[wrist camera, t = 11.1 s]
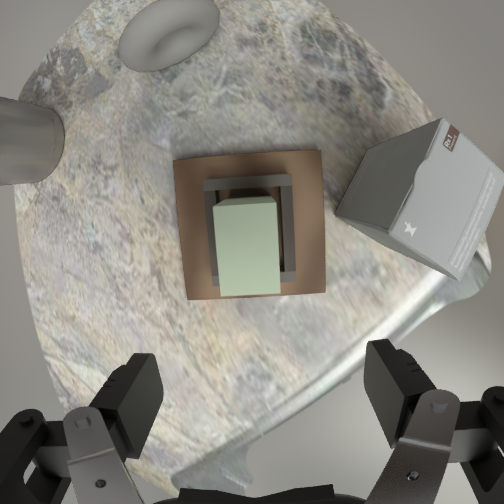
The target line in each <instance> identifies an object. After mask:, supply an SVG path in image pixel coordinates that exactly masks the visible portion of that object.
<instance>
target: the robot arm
mask: <svg viewBox="0 0 504 504" xmlns="http://www.w3.org/2000/svg"><path fill="white" fill-rule="evenodd" d="M63 146H64V129H63V125H62V122H61V120H60V118H59V116H58V115H57V114H56V113H55V112H54V111H52V110H50V109H48V108H44V107H40V106H36V105H32V104H29V103H25V102H21V101H17V100H13V99H8V98H3V97H0V186H1V185H12V184H24V183H35V182H39V181H42V180H43V179H45V178H47V177H48V176H49V175H50V174H51V173H52V172H53V170H54V169H55V168H56V166H57V164H58V162H59V160H60V157H61V154H62V151H63ZM364 387H365V390H366V393H367V395H368V397H369V399H370V402H371V404H372V406H373V408H374V411H375V413H376V415H377V418H378V420H379V422H380V424H381V427H382V429H383V431H384V434H385V436H386V438H387V441H388V443H389V445H390V448H391V449H393V448H395V449H394V451H393V453H392V455H391V457H390V459H389V461H388V462H387V464H386V466H385V468H384V470H383V472H382V474H381V476H380V477H379V479H378V481H377V482H376V484H375V486H374V488H373V490H372V491H371V493H370V495H369V496H368V498H367V500H365V499H362V498H359V497H355V496H351V495H345V494H334V489H333V485H332V484H329V485H322V486H314V487H304V488H294V489H291V490H287V491H283V492H280V493H276V494H271V495H268V496H263V497H258V498H251V497H246V496H241V495H236V494H231V493H226V492H222V491H218V490H200V489H187V488H180V493H179V497H178V498H172V499H166V500H163V501H159V502H156V503H153V504H433V503H434V501H435V498H436V496H437V493H438V490H439V487H440V485H441V482H442V479H443V476H444V473H445V469H446V467H447V463H457V462H460V464H461V466H462V468H463V470H464V473H465V474H466V477H467V479H468V481H469V483H470V485H471V487H472V489H473V492H474V494H475V496H476V498H477V500H478V503H479V504H504V457H503V456H502V454H501V452H500V450H499V449H498V446H499V447H500V448H501V449H502V451H503V453H504V387H502V386H494V387H491V388H488V389H487V390H486V391H485V392H484V393H483V396H482V398H481V401H469V402H460V400H459V398H458V397H457V396H456V395H454V394H453V393H452V392H449V391H446V390H441V389H436V387H435V385H434V384H433V383H432V382H431V380H430V379H429V377H428V376H427V375H426V374H425V373H424V371H423V370H422V368H421V367H420V366H419V364H417V362H416V361H415V359H414V358H413V357H412V355H411V354H409V353H407V352H405V351H404V350H402V349H398V350H396V349H395V348H394V346H393V345H392V344H391V342H390V341H389V340H388V339H380V340H374V341H368V343H367V347H366V358H365V368H364ZM163 394H164V392H163V385H162V381H161V377H160V373H159V369H158V365H157V361H156V358H155V356H154V354H152V353H134V354H133V355H132V357H131V358H130V359H129V361H128V362H127V364H126V365H121V366H120V367H119V368H117V369H116V370H114V371H113V372H112V373H111V375H110V376H109V378H108V380H107V381H106V382H105V383H104V385H103V387H102V388H101V389H100V390H99V392H98V393H97V395H96V396H95V397H94V399H93V400H92V402H91V403H90V405H89V406H88V407H79V408H76V409H74V410H72V411H70V412H69V413H68V414H67V415H66V416H65V417H64V419H63V421H46V420H45V418H44V416H43V414H42V413H41V412H40V411H38V410H36V409H26V410H23V411H21V412H19V413H17V414H16V415H15V416H14V417H13V418H12V419H11V420H10V421H9V423H8V424H7V425H6V426H5V428H4V429H3V430H2V432H1V433H0V504H61V502H62V500H63V498H64V495H65V493H66V491H67V489H68V487H69V485H70V483H71V480H72V483H73V487H74V490H75V494H76V497H77V500H78V503H79V504H145V502H144V500H143V498H142V496H141V495H140V493H139V491H138V489H137V487H136V485H135V484H134V482H133V480H132V478H131V476H130V474H129V472H128V470H127V468H126V466H125V464H124V463H125V460H126V458H133V459H139V457H140V454H141V452H142V449H143V447H144V445H145V442H146V440H147V437H148V435H149V432H150V430H151V428H152V425H153V423H154V420H155V418H156V415H157V413H158V411H159V408H160V406H161V403H162V401H163ZM31 460H32V461H33V463H34V464H35V466H36V467H35V469H34V471H33V473H32V474H31V476H30V478H29V479H28V481H27V483H26V485H25V483H24V479H23V475H24V472H25V470H26V469H27V467H28V465H29V464H30V462H31Z"/></svg>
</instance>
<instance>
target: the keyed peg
mask: <svg viewBox="0 0 504 504" xmlns="http://www.w3.org/2000/svg"><path fill="white" fill-rule="evenodd" d="M213 215H214V228H215V239H216V251H217V262H218V272H219V283H220V293H221V296H241V295H261V294H278V293H281V291H280V267H279V245H278V225H277V206H276V201H275V200H274V199H273V197H272V196H271V195H261V196H245V197H230V198H227V199H225V200H223V201H221V202H220V203H218V204H216V205H215V206H213Z"/></svg>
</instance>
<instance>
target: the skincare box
mask: <svg viewBox="0 0 504 504" xmlns="http://www.w3.org/2000/svg"><path fill="white" fill-rule="evenodd" d="M503 186H504V173H503V172H502V171H501V170H500V169H499V168H498V167H497V166H496V165H495V164H494V163H493V162H492V161H491V160H490V159H489V158H488V157H487V156H486V155H485V154H484V153H483V152H482V151H481V150H480V149H479V148H478V147H477V146H476V145H475V144H473V142H471V141H470V140H469V139H468V138H467V137H466V136H465V135H463V134H462V133H461V132H460V131H459V130H458V129H457V128H456V127H454V126H453V125H452V124H451V123H450V122H448V121H447V120H446V119H445V118H440V119H438V120H435V121H433V122H430V123H428V124H426V125H423V126H421V127H419V128H416V129H414V130H412V131H409V132H407V133H405V134H402V135H400V136H397V137H395V138H393V139H390V140H388V141H386V142H383V143H381V144H379V145H376V146H374V147H372V148H369V149H368V150H367V152H366V154H365V156H364V158H363V160H362V162H361V164H360V166H359V168H358V170H357V172H356V173H355V175H354V177H353V179H352V181H351V183H350V185H349V187H348V189H347V191H346V193H345V195H344V197H343V199H342V201H341V202H340V204H339V206H338V208H337V210H336V212H335V214H334V215H335V216H336V217H337V218H339V219H341V220H342V221H344V222H346V223H347V224H349V225H351V226H352V227H354V228H356V229H357V230H359V231H361V232H362V233H364V234H365V235H367V236H369V237H370V238H372V239H374V240H375V241H377V242H378V243H380V244H382V245H384V246H385V247H388V248H390V249H392V250H394V251H396V252H399V253H401V254H403V255H405V256H407V257H409V258H411V259H414V260H416V261H418V262H420V263H422V264H424V265H426V266H428V267H430V268H432V269H435V270H437V271H439V272H441V273H443V274H445V275H447V276H449V277H451V278H453V279H455V280H458V281H461V279H462V277H463V275H464V273H465V271H466V269H467V267H468V266H469V264H470V262H471V260H472V258H473V256H474V254H475V252H476V249H477V247H478V245H479V243H480V241H481V239H482V237H483V235H484V233H485V230H486V228H487V226H488V224H489V221H490V219H491V216H492V214H493V212H494V209H495V207H496V204H497V202H498V199H499V196H500V194H501V191H502V188H503Z"/></svg>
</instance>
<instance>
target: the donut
mask: <svg viewBox="0 0 504 504" xmlns="http://www.w3.org/2000/svg"><path fill="white" fill-rule="evenodd" d="M219 19H220V11H219V9H218V7H217V6H216V4H215V3H214V1H213V0H158V1H156V2H154V3H152V4H150V5H148V6H147V7H146V8H144V9H143V10H142V11H140V12H139V13H138V14H136V16H135V17H134V18H133V19H132V20H131V21H130V22H129V23H128V25H127V26H126V28H125V29H124V31H123V33H122V35H121V37H120V39H119V56H120V58H121V60H122V61H123V63H124V64H125V65H126V67H128V68H130V69H132V70H135V71H138V72H154V71H158V70H162V69H165V68H167V67H170V66H172V65H175V64H177V63H179V62H180V61H182V60H184V59H186V58H188V57H189V56H190V55H192V54H193V53H195V52H196V51H198V50H199V49H200V48H201V47H202V46H203V45H204V44H206V43H207V42H208V40H209V39H210V38H211V37H212V36H213V35H214V33H215V31H216V29H217V27H218V25H219Z"/></svg>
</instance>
